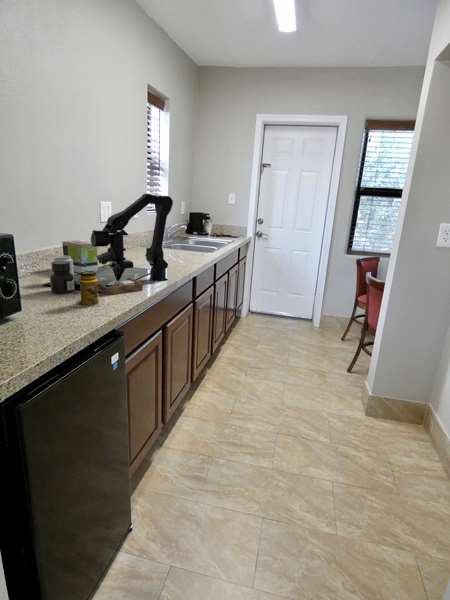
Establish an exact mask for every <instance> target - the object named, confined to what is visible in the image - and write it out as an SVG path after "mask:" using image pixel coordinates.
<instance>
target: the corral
mask: <svg viewBox="0 0 450 600" xmlns="http://www.w3.org/2000/svg"><path fill="white" fill-rule="evenodd" d="M126 280H131V281H133V282H135V284H130V285H123V286H119V285H116V286H104V285H102V284H100V283H98V290H100V291H101V292H102V293H101V292H100V293H101V294H103V293H104V294H103V295H105V296H113V295H114V296H115V295H118V294H126V293H134V292H142V291H143V283H142V282H140V281H137V280H135V279H133V278H131V277H127V279H126Z"/></svg>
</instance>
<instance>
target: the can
mask: <svg viewBox="0 0 450 600" xmlns="http://www.w3.org/2000/svg"><path fill="white" fill-rule="evenodd" d="M54 258H55V259H53V262H54V261H69V262H70V268H71V269H70V270H71V271H70V272H71V274H73V275H74V276H75V272H74V270H73V260H72V259H71V256H66V255H63V254H62V255H56V256H55V257H54Z"/></svg>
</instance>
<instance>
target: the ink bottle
mask: <svg viewBox="0 0 450 600" xmlns="http://www.w3.org/2000/svg"><path fill="white" fill-rule="evenodd" d="M70 269H71V268H70V262H69V261H54V260H53V261H51V272H52V274H50V275H49V285H50V292H51V293H53V294H59V295H60V294H61V295H63V294H71V293H73V292H75V288H76V287H75V274H74V275H73V274H71V272H70V271H71V270H70Z"/></svg>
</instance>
